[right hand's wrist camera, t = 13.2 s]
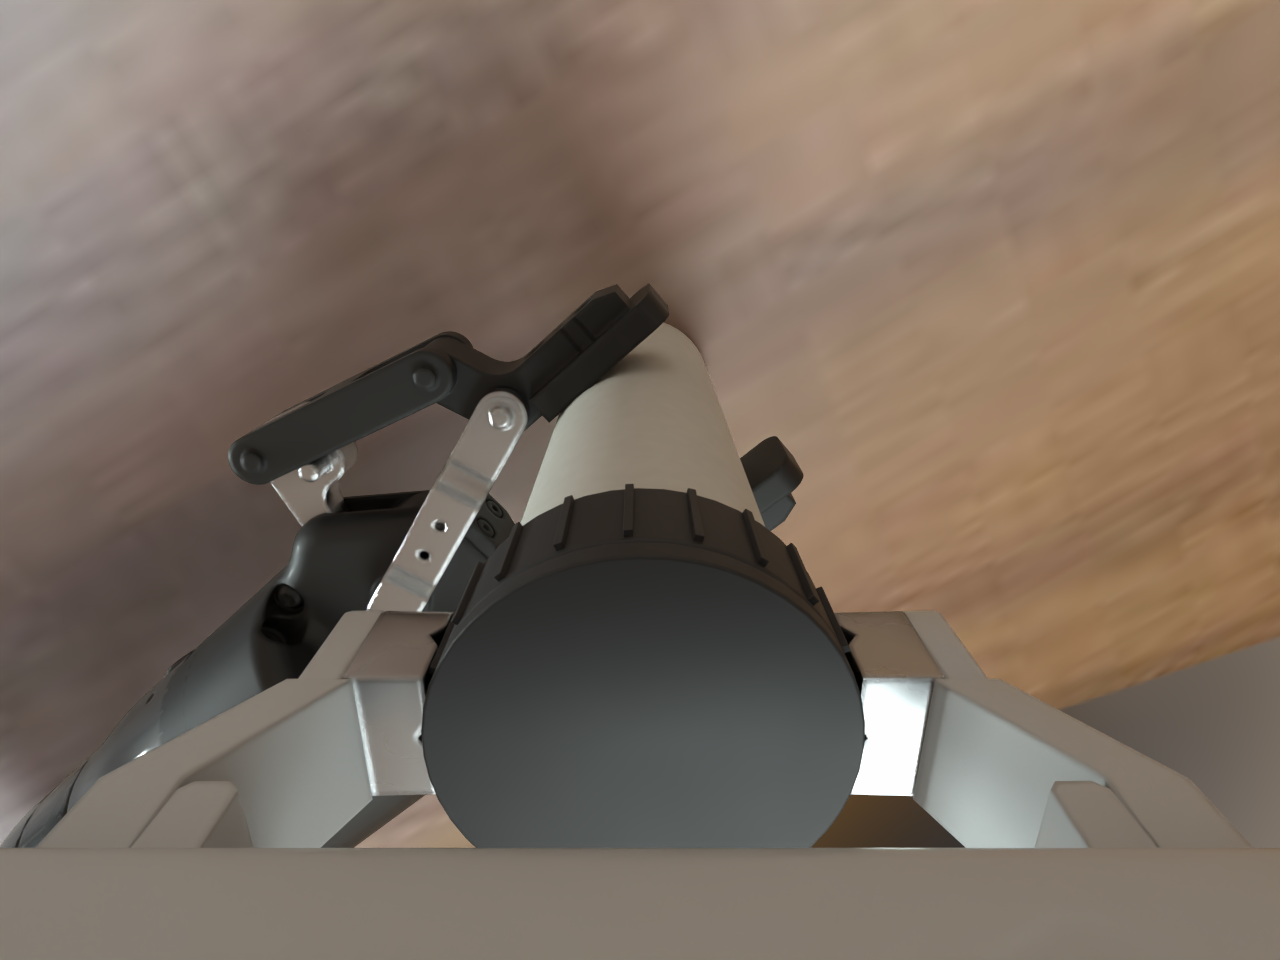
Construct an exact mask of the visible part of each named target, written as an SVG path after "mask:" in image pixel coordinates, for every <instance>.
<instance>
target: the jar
mask: <svg viewBox="0 0 1280 960" xmlns="http://www.w3.org/2000/svg"><path fill="white" fill-rule="evenodd" d="M625 484H634V488H646V489H666V490H673V491H679V492H685V493H687V489H688V488H691V489H695V490H696V493H697V495H698V496H701V497H705V498H708V499H712V500H715V501H718V502H720V503H722V504H725V505H727V506H729V507H732V508H734V509H736V510H739V511H740V512H742V513H743V511H744V510H745V509H747V510H749V511H751V512H752V513H753V516H754V519H755V520H756V521H757V522H759V523H760V524H762V525H763V526H764V527H765V525H764V522H763V519H762V517H761V514H760V511H759V509H758V506H757V503H756V501H755V498H754V495H753V492H752V490H751V487H750V484H749V482H748V479H747V476H746V474H745V471H744V468H743V466H742V463H741V460H740V457H739V455H738V452H737V449H736V447H735V444H734V441H733V439H732V436H731V433H730V430H729V428H728V425H727V422H726V420H725V417H724V414H723V412H722V409H721V406H720V403H719V401H718V398H717V395H716V393H715V390H714V387H713V385H712V382H711V379H710V376H709V374H708V371H707V368H706V366H705V363H704V361H703V358H702V356H701V354H700V352H699V351H698V349H697V347H696V346H695V345H694V343H693V342H692V341H691V340H690V339H689V338H688V337H687V336H686V335H685V334H684V333H682V332H681V331H679V330H678V329H676V328H675V327H673V326H671V325H669V324H666V323H664V322H663V323H662V324H661V325H660V326H659V327H658V328H657V329H656V330H655V331H654V332H653V333H652V334H650V335H649V336H648V337H647V338H646V339H645V340H644V341H642V342H641V343H640V344H639V345H638V346H637V347H635V348H634V349H633V350H632V351H631V352H630V353H629V354H627V355H626V356H625V357H624V358H623V359H622V360H620V361H619V362H618V363H617V364H616V365H615V366H614V367H612V368H611V369H610V370H609V371H608V372H607V373H606V374H604V375H603V376H602V377H601V378H600V379H599V380H597V381H596V382H595V383H594V384H593V385H592V386H591V387H589V388H588V389H587V390H586V391H585V392H583V393H582V394H581V395H580V396H578V397H577V398H576V399H575V400H574V401H573V402H572V403H571V404H570V405H569V406H568V407H566V408H565V409H564V410H563V411H562V412H561V413H560V414H559V417H558V420H557V423H556V426H555V428H554V431H553V434H552V437H551V440H550V442H549V445H548V448H547V451H546V454H545V456H544V459H543V462H542V465H541V468H540V470H539V473H538V476H537V479H536V482H535V484H534V487H533V490H532V493H531V496H530V498H529V501H528V504H527V507H526V510H525V512H524V515H523V518H522V521H521V525H522V526H523V525H525V524H526V523H528V522H529V521H530V520H532V519H533V518H535V517H536V516H538V515H540V514H542V513H544V512H546V511H548V510H550V509H552V508H554V507H556V506H558V505H560V504H563V502H564V498H565V497H567V496H570V495H572V496H573V498H574V500H575V499H578V498H580V497H583V496H587V495H592V494H597V493H601V492H606V491H611V490H622V489H625Z"/></svg>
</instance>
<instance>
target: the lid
mask: <svg viewBox="0 0 1280 960" xmlns="http://www.w3.org/2000/svg"><path fill="white" fill-rule="evenodd" d="M849 651H851V650H850V647H849V645H848V643H847V641H846V638H845V636H844V634H843V632H842V630H841V627H840V625H839V623H838V621H837V619H836V616H835V614H834V612H833V610H832V608H831V606H830V603H829V601H828V599H827V597H826V595H825V592H824V590H823V588H822V587H819V588H817V589H816V588H815V586H814V584H813V582H812V580H811V578H810V576H809V574H808V573H807V571H806V569H805V567H804V565H803V562H802V560H801V558H800V555H799V553H798V551H797V548H796V547H795V546H794V545H793V544H792V543H790V544H789V545H788V546H786V545H785V544H784V543H783V542H782V541H781V540H780V539H779V538H778V537H777V536H776V535H774V534H773V533H772V532H771V531H769V530H768V529H767V528H766V527H764V526H763V525H762V524H760V523H759V522H757V521H756V520H755V519H754V516H753V513H752V512H751V511H749V510H747V509H745V510H744V511H743V513H742V512H740V511H739V510H736V509H734V508H732V507H729V506H727V505H725V504H722V503H720V502H718V501H715V500H712V499H708V498H705V497H701V496H698V495H697V493H696V490H695V489H691V488H688V489H687V493H685V492H679V491H673V490H666V489H646V488H634V484H625V489H622V490H611V491H606V492H601V493H597V494H592V495H587V496H583V497H580V498H578V499H575V500H574V498H573V496H572V495H570V496H567V497H565V498H564V502H563V504H560V505H558V506H556V507H554V508H552V509H550V510H548V511H546V512H544V513H542V514H540V515H538V516H536V517H535V518H533V519H532V520H530V521H529V522H528V523H526V524H525V525H523V526H522V525H521V524H520V522H518V523H516V524H515V525H514V526H513V527H512V530H511V533H510V535H509V537H508V538H507V539H506V540H505V541H504V542H502V543H501V544H500V545H499V546H498V548H497V549H496V550H495V551H494V552H493V553H492V555H491V556H490V557H489V558H488V559H487V561H486V562H485V563H482V562H480V561H479V562H478V563H477V564H476V566H475V568H474V570H473V573H472V575H471V577H470V579H469V582H468V584H467V586H466V589H465V591H464V593H463V595H462V598H461V600H460V602H459V604H458V607H456V609H455V611H454V614H453V616H452V618H451V620H450V623H449V625H448V627H447V629H446V632H445V634H444V636H443V638H442V641H441V643H440V645H439V648H438V650H437V652H436V654H435V657H434V659H433V661H432V663H431V666H430V669H429V674H431V675H433V676H432V679H431V681H430V683H429V686H428V690H427V694H426V698H425V702H424V706H423V714H422V728H421V735H422V746H423V756H424V760H425V764H426V768H427V772H428V775H429V779H430V781H431V784H432V786H433V788H434V791H435V793H436V795H437V798H438V800H439V802H440V803H441V805H442V806H443V808H444V810H445V811H446V813H447V815H448V816H449V818H450V819H451V821H452V822H453V823H454V824H455V826H456V827H457V828H458V829H459V830H460V832H461V833H462V834H463V835H464V836H465V838H466V839H467V840H468V841H470V842H471V843H472V844H473V845H474V846H475V847H476V848H811V847H812V846H813V845H814V844H815V842H816V841H817V840H818V839H819V838H820V837H821V836H822V835H823V834H824V833H825V832H826V831H827V830H828V828H829V827H830V826H831V824H832V823H833V822H834V820H835V819H836V818H837V816H838V815H839V814H840V812H841V811H842V809H843V807H844V805H845V803H846V801H847V800H848V798H849V796H850V794H851V792H852V790H853V787H854V784H855V782H856V779H857V776H858V773H859V771H860V766H861V761H862V756H863V750H864V743H865V718H864V711H863V704H862V698H861V695H860V692H859V688H858V685H857V682H856V679H855V676H854V673H853V671H852V669H851V667H850V664H849V662H848V660H847V658H846V656H845V653H847V652H849Z"/></svg>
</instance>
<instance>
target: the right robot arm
mask: <svg viewBox="0 0 1280 960" xmlns="http://www.w3.org/2000/svg"><path fill="white" fill-rule="evenodd" d="M453 614H454V612H426V611H386V612H385V611H383V610H366V611H350V612H346V613H345V614H344V615H343V616H342V617H341V619H340V620H339V622H338V623H337V624H336V626H335V627H334V629H333V630H332V632H331V633H330V634H329V636H328V637H327V639H326V640H325V641H324V643H323V644H322V646H321V647H320V649H319V650H318V651H317V653H316V654H315V656H314V657H313V658H312V660H311V661H310V663H309V664H308V665H307V667H306V668H305V670H304V671H303V673H302V674H301V675H300V677H299V678H298V679H286V680H284V681H282V682H280V683H278V684H276V685H274V686H272V687H270V688H269V689H267V690H265V691H263V692H261V693H259V694H257V695H255V696H253V697H252V698H250V699H248V700H246V701H244V702H242V703H240V704H238V705H236V706H235V707H233V708H231V709H229V710H227V711H225V712H223V713H221V714H219V715H218V716H216V717H214V718H212V719H210V720H208V721H206V722H204V723H202V724H200V725H199V726H197V727H195V728H193V729H191V730H189V731H187V732H185V733H183V734H182V735H180V736H178V737H176V738H174V739H172V740H170V741H168V742H166V743H165V744H163V745H161V746H159V747H157V748H155V749H153V750H151V751H149V752H148V753H146V754H144V755H142V756H140V757H138V758H136V759H134V760H132V761H130V762H129V763H127V764H125V765H123V766H121V767H119V768H117V769H115V770H113V771H112V772H110V773H108V774H106V775H104V776H102V777H100V778H99V779H98V780H97V781H96V782H95V783H94V784H93V786H92V787H91V788H90V789H89V790H88V791H87V792H86V793H85V794H84V795H83V796H82V797H81V799H80V800H79V801H78V802H77V803H76V804H75V805H74V806H73V807H72V808H71V809H70V810H69V812H68V813H67V814H66V815H65V816H64V817H63V818H62V819H61V820H60V821H59V822H58V823H57V824H56V826H55V827H54V828H53V829H52V830H51V831H50V832H49V833H48V834H47V835H46V836H45V837H44V839H43V840H42V841H41V842H40V843H39V844H38V845H37V846H36V847H35V848H0V960H1280V848H1254V847H1253V846H1252V845H1251V844H1250V843H1249V842H1248V841H1247V840H1246V839H1245V838H1244V837H1243V836H1242V835H1241V834H1240V832H1239V831H1238V830H1237V829H1236V828H1235V827H1234V826H1233V825H1232V824H1231V823H1230V822H1229V821H1228V820H1227V819H1226V818H1225V816H1224V815H1223V814H1222V813H1221V812H1220V811H1219V810H1218V809H1217V808H1216V807H1215V806H1214V805H1213V803H1212V802H1211V801H1210V800H1209V799H1208V798H1207V797H1206V796H1205V795H1204V794H1203V793H1202V792H1201V791H1200V790H1199V788H1198V787H1197V786H1196V785H1195V784H1194V783H1193V782H1192V781H1191V780H1190V779H1189V778H1187V777H1185V776H1183V775H1181V774H1179V773H1177V772H1176V771H1174V770H1172V769H1170V768H1168V767H1166V766H1164V765H1162V764H1160V763H1158V762H1156V761H1155V760H1153V759H1151V758H1149V757H1147V756H1145V755H1143V754H1141V753H1139V752H1138V751H1136V750H1134V749H1132V748H1130V747H1128V746H1126V745H1124V744H1122V743H1120V742H1119V741H1117V740H1115V739H1113V738H1111V737H1109V736H1107V735H1105V734H1103V733H1101V732H1099V731H1098V730H1096V729H1094V728H1092V727H1090V726H1088V725H1086V724H1084V723H1082V722H1080V721H1079V720H1077V719H1075V718H1073V717H1071V716H1069V715H1067V714H1065V713H1063V712H1061V711H1060V710H1058V709H1056V708H1054V707H1052V706H1050V705H1048V704H1046V703H1044V702H1042V701H1041V700H1039V699H1037V698H1035V697H1033V696H1031V695H1029V694H1027V693H1025V692H1023V691H1022V690H1020V689H1018V688H1016V687H1014V686H1012V685H1010V684H1008V683H1006V682H1004V681H1003V680H1001V679H988V678H987V677H986V675H985V674H984V672H983V671H982V670H981V668H980V667H979V666H978V664H977V663H976V661H975V660H974V659H973V657H972V656H971V655H970V653H969V652H968V650H967V649H966V648H965V646H964V645H963V643H962V642H961V641H960V639H959V638H958V637H957V635H956V634H955V632H954V631H953V630H952V628H951V627H950V626H949V624H948V623H947V621H946V620H945V619H944V617H943V616H942V615H941V613H939V612H937V611H935V610H920V611H894V612H854V613H834V614H835V616H836V619H837V621H838V623H839V625H840V627H841V630H842V632H843V634H844V636H845V638H846V641H847V643H848V645H849V647H850V650H851V651H849V652H847V653H845V656H846V658H847V660H848V662H849V664H850V667H851V669H852V671H853V673H854V676H855V679H856V682H857V685H858V688H859V692H860V695H861V698H862V704H863V711H864V718H865V743H864V750H863V756H862V761H861V766H860V771H859V773H858V776H857V779H856V782H855V784H854V787H853V790H852V792H851V794H863V795H898V796H913V799H914V800H915V801H916V802H917V803H918V804H919V805H920V806H921V807H922V808H924V809H925V810H926V811H927V812H928V813H929V814H930V815H931V816H932V817H933V818H934V819H935V820H936V821H938V822H939V823H940V824H941V825H942V826H943V827H944V828H945V829H946V830H947V831H948V832H950V833H951V834H952V835H953V836H954V837H955V838H956V839H957V840H958V841H959V842H960V843H961V844H963V845H964V846H965V847H966V848H321V847H322V846H323V845H324V844H325V843H326V842H327V841H328V840H329V839H330V838H331V837H333V836H334V835H335V834H336V833H337V832H338V831H339V830H340V829H341V828H342V827H343V826H344V825H346V824H347V823H348V822H349V821H350V820H351V819H352V818H353V817H354V816H355V815H356V814H357V813H359V812H360V811H361V810H362V809H363V808H364V807H365V806H366V805H367V804H368V803H369V802H370V801H372V800H373V798H372V796H387V795H422V794H436V793H435V791H434V788H433V786H432V784H431V781H430V779H429V775H428V772H427V768H426V764H425V760H424V756H423V746H422V735H421V728H422V714H423V706H424V702H425V698H426V694H427V690H428V686H429V683H430V681H431V679H432V676H433V675H431V674H429V669H430V666H431V663H432V661H433V659H434V657H435V654H436V652H437V650H438V648H439V645H440V643H441V641H442V638H443V636H444V634H445V632H446V629H447V627H448V625H449V623H450V620H451V618H452V616H453Z"/></svg>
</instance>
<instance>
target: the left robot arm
mask: <svg viewBox="0 0 1280 960" xmlns="http://www.w3.org/2000/svg"><path fill="white" fill-rule="evenodd" d="M668 316H669V309H668V306H667V304H666V303H665V302H664V301H663V300H662V298H661V297H660V296H659V295H658V294H657V292H656V291H655V290H654V289H653V288H652V287H651V285H650V284H647V285H646V286H644V287H643V288H642V289H640V290H639V291H638V292H637V293H636V294H634V295H633V296H632V297H631V298H630V299H629V298H628V296H627V295H626V294H625V293H624V292H623V291H622V289H621V288H620V287H619V286H618V285H617V284H616V285H613V286H610V287H608V288H605V289H602V290H599V291H597V292H595V293H594V294H593V295H592V296H591V297H590V298H589V299H587V300H586V301H585V302H584V303H583V304H582V305H581V306H580V307H579V308H578V309H576V310H575V311H574V312H573V313H572V314H571V315H570V316H569V317H568V318H567V319H566V320H564V321H563V322H562V323H561V324H560V325H559V326H558V327H557V328H556V329H554V330H553V331H552V332H551V333H550V334H549V335H548V336H547V337H546V338H545V339H543V340H542V341H541V342H540V343H539V344H538V345H537V346H536V347H535V348H534V349H533V350H531V351H530V352H529V353H528V354H527V355H526V356H524V357H523V358H521V359H519V360H516V361H511V362H503V361H498V360H495V359H493V358H490V357H489V356H487V355H485V354H483V353H481V352H479V351H477V350H475V349H474V348H473V346H472V344H471V343H470V341H469V340H468V339H467V338H465V337H464V336H463V335H461V334H459V333H456V332H443V333H440V334H438V335H436V336H434V337H432V338H430V339H428V340H426V341H424V342H422V343H420V344H418V345H416V346H414V347H412V348H410V349H408V350H406V351H404V352H402V353H400V354H398V355H396V356H394V357H392V358H390V359H388V360H386V361H384V362H382V363H380V364H378V365H376V366H374V367H372V368H369V369H367V370H365V371H363V372H361V373H359V374H357V375H355V376H353V377H351V378H349V379H347V380H345V381H343V382H341V383H339V384H337V385H335V386H333V387H331V388H329V389H327V390H325V391H323V392H321V393H319V394H317V395H315V396H313V397H311V398H309V399H307V400H305V401H303V402H301V403H299V404H297V405H295V406H293V407H291V408H289V409H287V410H285V411H283V412H282V413H280V414H278V415H277V416H275V417H274V418H272V419H270V420H268V421H267V422H265V423H264V424H262V425H260V426H259V427H257V428H256V429H254V430H252V431H251V432H249V433H248V434H246V435H245V436H243V437H241V438H240V439H238V440H237V441H235V442H234V443H233V444H232V445H231V447H230V449H229V453H228V460H229V464H230V466H231V468H232V470H233V471H234V473H235V474H236V475H237V476H238V477H240V478H241V479H242V480H244V481H246V482H248V483H251V484H257V485H259V484H266V483H269V482H270V483H271V484H272V486H273V487H274V489H275V490H276V491H277V493H278V494H279V496H280V497H281V499H282V500H283V501H284V503H285V504H286V506H287V507H288V508H289V510H290V511H291V513H292V514H293V515H294V517H295V518H296V520H297V521H298V522H299V524H300V525H301V527H302V528H301V529H300V530H299V532H298V533H297V535H296V538H295V540H294V544H293V550H292V555H291V558H290V561H289V563H288V565H287V566H286V567H285V568H284V569H283V570H281V571H280V572H279V573H278V574H277V575H276V576H275V577H274V578H273V579H272V580H271V581H269V582H268V583H267V584H266V585H265V586H264V587H263V588H262V589H261V590H260V591H259V592H257V593H256V594H255V595H254V596H253V597H252V598H251V599H250V600H249V601H248V602H246V603H245V604H244V605H243V606H242V607H241V608H240V609H239V610H238V611H237V612H236V613H234V614H233V615H232V616H231V617H230V618H229V619H228V620H227V621H226V622H225V623H224V624H222V625H221V626H220V627H219V628H218V629H217V630H216V631H215V632H214V633H213V634H212V635H210V636H209V637H208V638H207V639H206V640H205V641H204V642H203V643H202V644H201V645H199V646H198V647H197V648H196V649H195V650H193V651H191V652H190V653H188V654H187V655H185V656H184V657H182V658H181V659H179V660H178V661H177V662H176V663H174V664H173V665H172V666H171V667H170V668H169V669H168V672H167V673H166V674H165V677H164V678H163V679H162V680H161V681H160V682H159V683H158V684H157V685H156V686H155V687H153V688H152V689H151V690H150V691H149V692H148V693H147V694H146V695H144V696H143V697H142V698H141V699H140V700H139V701H138V702H137V703H136V704H135V705H134V706H133V707H132V709H131V710H130V711H129V712H128V713H127V714H126V715H125V716H124V717H123V719H122V720H121V721H120V722H119V723H118V725H117V726H116V727H115V728H114V730H113V731H112V733H111V734H110V735H109V737H108V738H107V739H106V741H105V742H104V743H103V745H102V746H101V747H100V748H99V749H98V750H97V751H96V752H94V753H93V754H92V755H91V756H90V757H89V758H88V759H87V760H86V761H85V762H83V763H82V764H81V765H80V766H79V767H78V768H77V769H76V770H75V771H73V772H72V773H71V774H70V775H69V776H68V777H67V778H66V779H65V780H64V781H62V782H61V783H60V784H59V785H58V786H57V787H56V788H55V789H54V790H53V791H52V792H51V793H50V794H48V795H47V796H46V797H45V798H44V799H43V800H42V801H41V802H39V803H38V804H37V805H36V806H35V807H34V808H33V809H32V810H31V811H30V812H29V813H28V814H27V815H26V816H25V817H24V818H23V819H22V820H21V821H20V822H19V823H18V824H17V825H16V826H15V828H14V829H13V830H12V831H11V833H10V834H9V835H8V836H7V838H6V839H5V840H4V841H3V843H2V844H1V845H0V848H35V847H36V846H37V845H38V844H39V843H40V842H41V841H42V840H43V839H44V837H45V836H46V835H47V834H48V833H49V832H50V831H51V830H52V829H53V828H54V827H55V826H56V824H57V823H58V822H59V821H60V820H61V819H62V818H63V817H64V816H65V815H66V814H67V813H68V812H69V810H70V809H71V808H72V807H73V806H74V805H75V804H76V803H77V802H78V801H79V800H80V799H81V797H82V796H83V795H84V794H85V793H86V792H87V791H88V790H89V789H90V788H91V787H92V786H93V784H94V783H95V782H96V781H97V780H98V779H99V778H100V777H102V776H104V775H106V774H108V773H110V772H112V771H113V770H115V769H117V768H119V767H121V766H123V765H125V764H127V763H129V762H130V761H132V760H134V759H136V758H138V757H140V756H142V755H144V754H146V753H148V752H149V751H151V750H153V749H155V748H157V747H159V746H161V745H163V744H165V743H166V742H168V741H170V740H172V739H174V738H176V737H178V736H180V735H182V734H183V733H185V732H187V731H189V730H191V729H193V728H195V727H197V726H199V725H200V724H202V723H204V722H206V721H208V720H210V719H212V718H214V717H216V716H218V715H219V714H221V713H223V712H225V711H227V710H229V709H231V708H233V707H235V706H236V705H238V704H240V703H242V702H244V701H246V700H248V699H250V698H252V697H253V696H255V695H257V694H259V693H261V692H263V691H265V690H267V689H269V688H270V687H272V686H274V685H276V684H278V683H280V682H282V681H284V680H286V679H298V678H299V677H300V675H301V674H302V673H303V671H304V670H305V668H306V667H307V665H308V664H309V663H310V661H311V660H312V658H313V657H314V656H315V654H316V653H317V651H318V650H319V649H320V647H321V646H322V644H323V643H324V641H325V640H326V639H327V637H328V636H329V634H330V633H331V632H332V630H333V629H334V627H335V626H336V624H337V623H338V622H339V620H340V619H341V617H342V616H343V615H344V614H345V613H346V612H350V611H366V610H383V611H385V612H386V611H426V612H454V611H455V609H456V607H458V604H459V602H460V600H461V598H462V595H463V593H464V591H465V589H466V586H467V584H468V582H469V579H470V577H471V575H472V573H473V570H474V568H475V566H476V564H477V563H478V562H479V561H480V562H482V563H485V562H486V561H487V559H488V558H489V557H490V556H491V555H492V553H493V552H494V551H495V550H496V549H497V548H498V546H499V545H500V544H501V543H502V542H504V541H505V540H506V539H507V538H508V537H509V535H510V533H511V530H512V527H513V526H514V525H515V524H514V522H513V521H512V519H511V517H510V516H509V514H508V512H507V511H506V510H505V509H504V508H503V507H502V506H501V505H500V504H499V503H498V502H497V501H496V500H495V499H494V498H493V497H492V496H491V495H490V494H488V493H489V491H490V489H491V487H492V486H493V484H494V482H495V480H496V479H497V477H498V475H499V473H500V472H501V470H502V468H503V466H504V465H505V463H506V461H507V459H508V457H509V456H510V454H511V452H512V450H513V449H514V447H515V445H516V443H517V442H518V440H519V438H520V436H521V435H522V433H523V431H525V430H526V429H527V428H528V427H529V426H530V425H532V424H533V423H534V422H535V421H536V420H537V419H538V418H540V417H541V416H543V417H544V418H545V419H546V420H547V421H548V422H550V421H551V420H553V419H554V418H555V417H556V416H557V415H558V414H560V413H561V412H562V411H563V410H564V409H565V408H566V407H568V406H569V405H570V404H571V403H572V402H573V401H574V400H575V399H576V398H577V397H578V396H580V395H581V394H582V393H583V392H585V391H586V390H587V389H588V388H589V387H591V386H592V385H593V384H594V383H595V382H596V381H597V380H599V379H600V378H601V377H602V376H603V375H604V374H606V373H607V372H608V371H609V370H610V369H611V368H612V367H614V366H615V365H616V364H617V363H618V362H619V361H620V360H622V359H623V358H624V357H625V356H626V355H627V354H629V353H630V352H631V351H632V350H633V349H634V348H635V347H637V346H638V345H639V344H640V343H641V342H642V341H644V340H645V339H646V338H647V337H648V336H649V335H650V334H652V333H653V332H654V331H655V330H656V329H657V328H658V327H659V326H660V325H661V324H662V323H663V322H664V321H665V320H666V319H667V317H668ZM434 403H438V404H440V405H442V406H444V407H446V408H447V409H449V410H451V411H453V412H455V413H457V414H459V415H461V416H463V417H465V418H467V419H469V422H468V423H467V425H466V427H465V429H464V431H463V433H462V435H461V436H460V438H459V440H458V442H457V444H456V446H455V448H454V450H453V451H452V453H451V455H450V457H449V459H448V461H447V462H446V464H445V466H444V467H443V469H442V471H441V472H440V474H439V476H438V477H437V479H436V481H435V483H434V485H433V486H432V488H431V490H425V491H413V492H401V493H389V494H376V495H364V496H352V497H343V496H342V495H341V492H340V488H339V483H340V479H341V477H342V476H343V475H344V474H345V473H346V472H347V471H348V470H349V469H350V468H351V467H352V466H353V465H354V464H355V462H356V460H357V457H358V450H357V446H356V444H355V441H357V440H359V439H361V438H363V437H365V436H367V435H369V434H371V433H373V432H376V431H378V430H380V429H382V428H384V427H386V426H388V425H390V424H392V423H394V422H396V421H399V420H401V419H403V418H405V417H407V416H409V415H411V414H413V413H415V412H417V411H419V410H422V409H424V408H426V407H428V406H430V405H432V404H434ZM740 460H741V463H742V466H743V468H744V471H745V474H746V476H747V479H748V482H749V484H750V487H751V490H752V492H753V495H754V498H755V501H756V503H757V506H758V509H759V511H760V514H761V517H762V519H763V522H764V525H765V527H766V528H767V529H768V530H769V531H771V530H773V529H774V528H775V527H777V526H778V525H779V524H781V523H782V522H783V521H785V519H786V518H787V516H788V515H789V513H790V512H791V510H792V509H793V507H794V506H795V504H796V502H795V500H794V498H793V496H792V494H791V492H792V491H794V490H795V489H796V488H797V487H798V485H799V484H800V483H801V481H802V479H803V473H802V471H801V469H800V467H799V465H798V464H797V462H796V460H795V458H794V457H793V455H792V454H791V453H790V452H789V451H788V449H787V448H786V447H785V446H784V445H783V444H782V442H781V441H780V440H779V439H778V438H777V437H776V436H773V437H770V438H767V439H765V440H764V441H762V442H761V443H759V444H758V445H757V446H756V447H754V448H753V449H752V450H750V451H749V452H748V453H747V454H745V455H744V456H743V457H741V458H740ZM424 795H426V794H422V795H387V796H372V798H373V800H372V801H370V802H369V803H368V804H367V805H366V806H365V807H364V808H363V809H362V810H361V811H360V812H359V813H357V814H356V815H355V816H354V817H353V818H352V819H351V820H350V821H349V822H348V823H347V824H346V825H344V826H343V827H342V828H341V829H340V830H339V831H338V832H337V833H336V834H335V835H334V836H333V837H331V838H330V839H329V840H328V841H327V842H326V843H325V844H324V845H323V846H322V847H321V848H354V847H355V846H356V845H358V844H359V843H360V842H362V841H363V840H365V839H366V838H367V837H369V836H370V835H371V834H373V833H374V832H375V831H377V830H378V829H380V828H381V827H382V826H384V825H385V824H386V823H388V822H389V821H390V820H392V819H393V818H395V817H396V816H397V815H399V814H400V813H401V812H403V811H404V810H405V809H407V808H408V807H409V806H411V805H412V804H414V803H415V802H416V801H418V800H419V799H420V798H422V797H423V796H424Z"/></svg>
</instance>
